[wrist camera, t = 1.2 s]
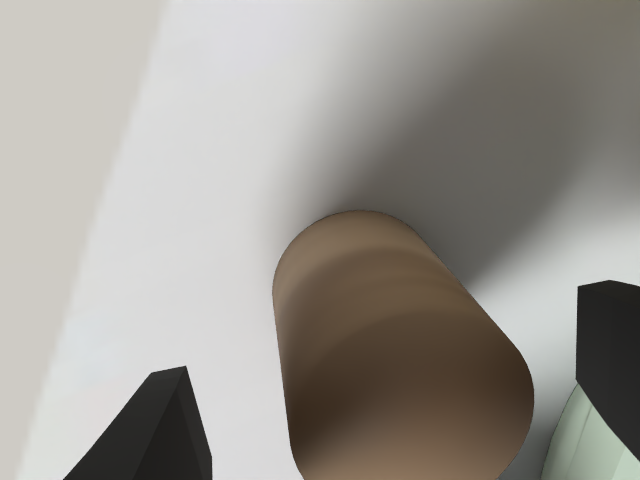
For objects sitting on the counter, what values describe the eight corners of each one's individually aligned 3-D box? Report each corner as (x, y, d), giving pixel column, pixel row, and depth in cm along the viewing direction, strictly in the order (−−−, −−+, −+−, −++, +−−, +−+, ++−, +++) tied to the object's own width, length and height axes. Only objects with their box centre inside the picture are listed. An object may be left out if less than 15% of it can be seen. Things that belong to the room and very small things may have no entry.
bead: (415, 366, 15) (497, 522, 10) (262, 355, 14) (273, 517, 9) (452, 220, 13) (565, 322, 9) (285, 200, 13) (311, 299, 8)
